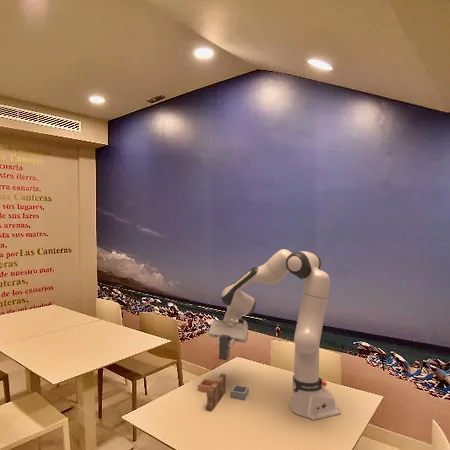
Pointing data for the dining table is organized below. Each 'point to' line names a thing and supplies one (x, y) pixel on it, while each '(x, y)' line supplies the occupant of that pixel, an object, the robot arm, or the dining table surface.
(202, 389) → the frame
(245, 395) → the frame
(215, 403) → the door panel
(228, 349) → the bar
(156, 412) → the dining table surface
